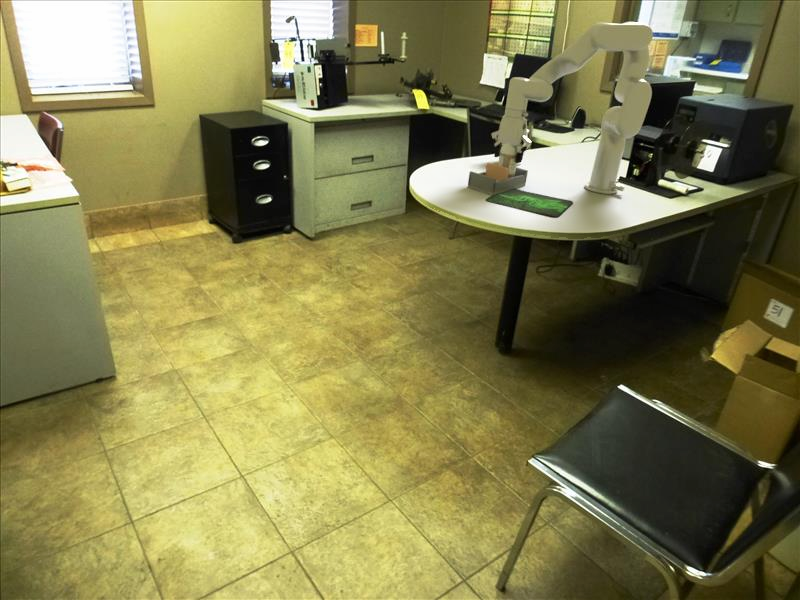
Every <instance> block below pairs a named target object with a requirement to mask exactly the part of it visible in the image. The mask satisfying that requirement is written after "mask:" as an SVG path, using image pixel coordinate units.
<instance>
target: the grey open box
mask: <svg viewBox="0 0 800 600" xmlns="http://www.w3.org/2000/svg"><path fill="white" fill-rule="evenodd" d="M485 174H486V171H483V172H479V173H478V172H475V171H469V174H468V182H467V188H469V189H472V190H475V191H478V192H481V193H484V194H487V195H490V196H492V195H496V194H499V193H502V192H505V191H508V190H511V189H518V188H521V187H524V186H525V187H526V183H527V179H528V178H527V177H528V170H526V169H524V168H520V167H517V166H516V171H515V177H512V178H509V179H505V180H502V181H498V182H496V180H497V179H495V178H491V177H488V176H485Z"/></svg>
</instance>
